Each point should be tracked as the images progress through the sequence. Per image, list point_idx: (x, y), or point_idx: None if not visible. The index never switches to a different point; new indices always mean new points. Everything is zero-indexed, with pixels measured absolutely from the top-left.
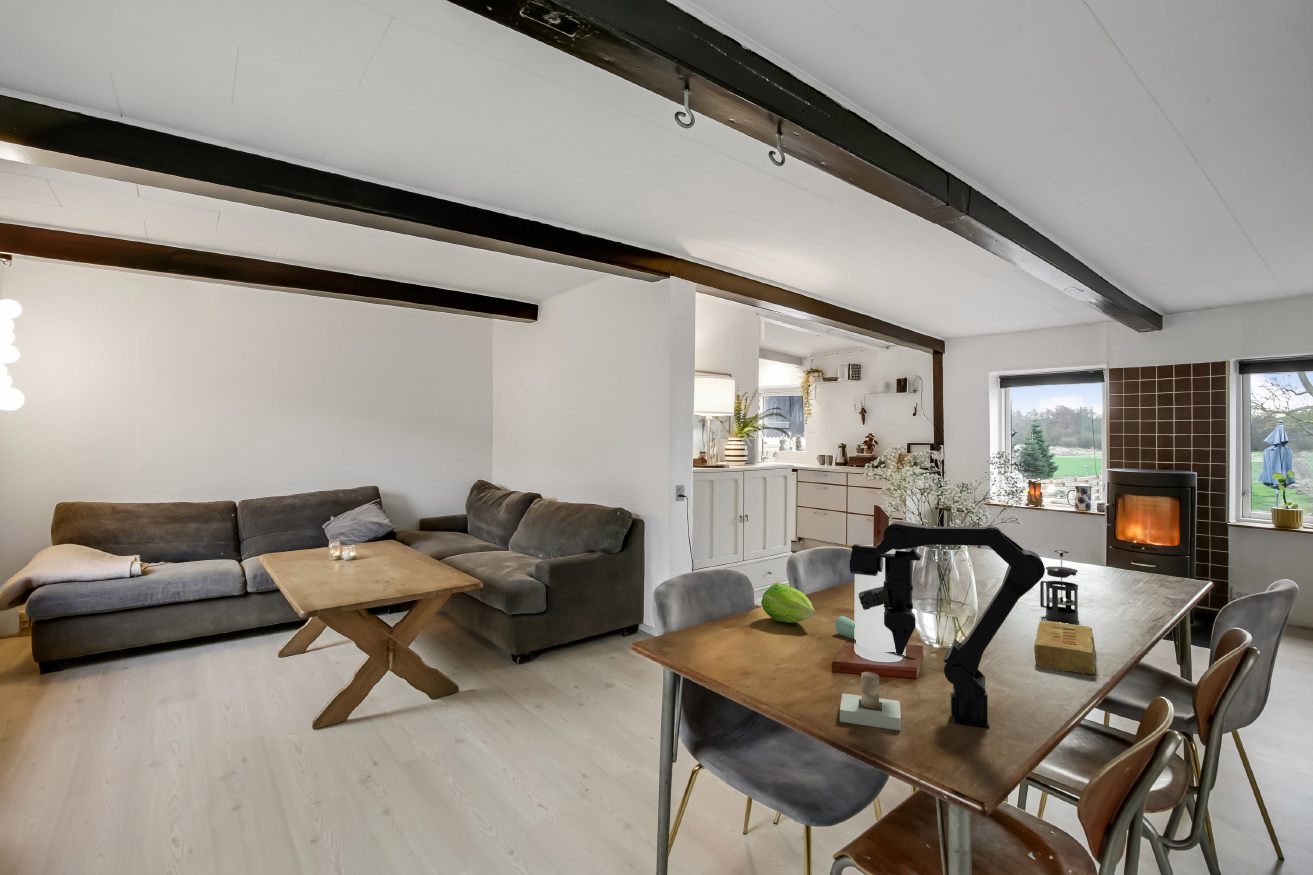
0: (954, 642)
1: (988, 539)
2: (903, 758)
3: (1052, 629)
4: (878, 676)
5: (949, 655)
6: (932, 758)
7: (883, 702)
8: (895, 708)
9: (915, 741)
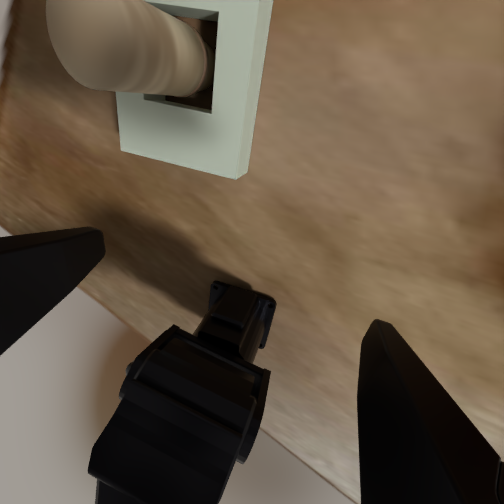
0: (138, 501)
1: None
2: (29, 120)
3: None
4: (87, 85)
5: (113, 417)
6: (58, 181)
7: (212, 119)
8: (178, 151)
9: (106, 167)
